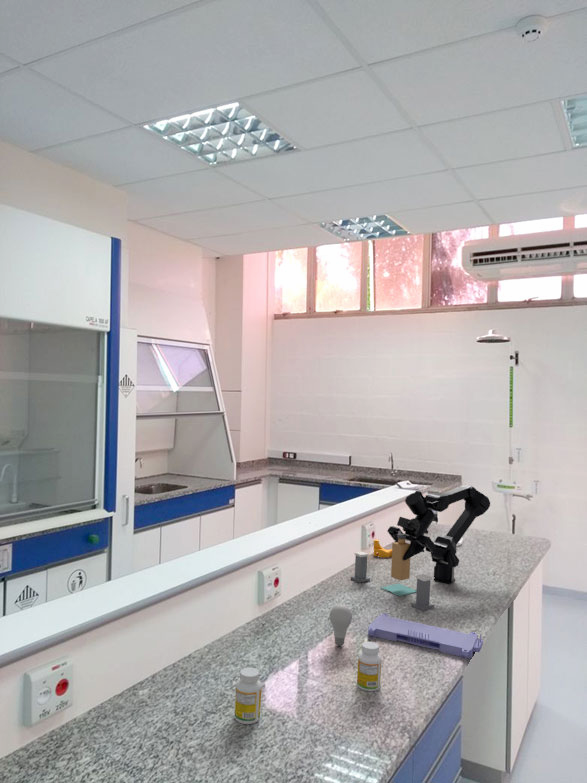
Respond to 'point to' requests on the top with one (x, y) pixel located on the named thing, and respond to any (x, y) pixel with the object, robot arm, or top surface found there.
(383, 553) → the pipe clamp
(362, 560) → the post right
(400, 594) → the mat
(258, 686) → the supplement bottle
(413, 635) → the computer part
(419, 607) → the post
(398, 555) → the bottle
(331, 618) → the lightbulb
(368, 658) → the supplement bottle
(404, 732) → the top surface
